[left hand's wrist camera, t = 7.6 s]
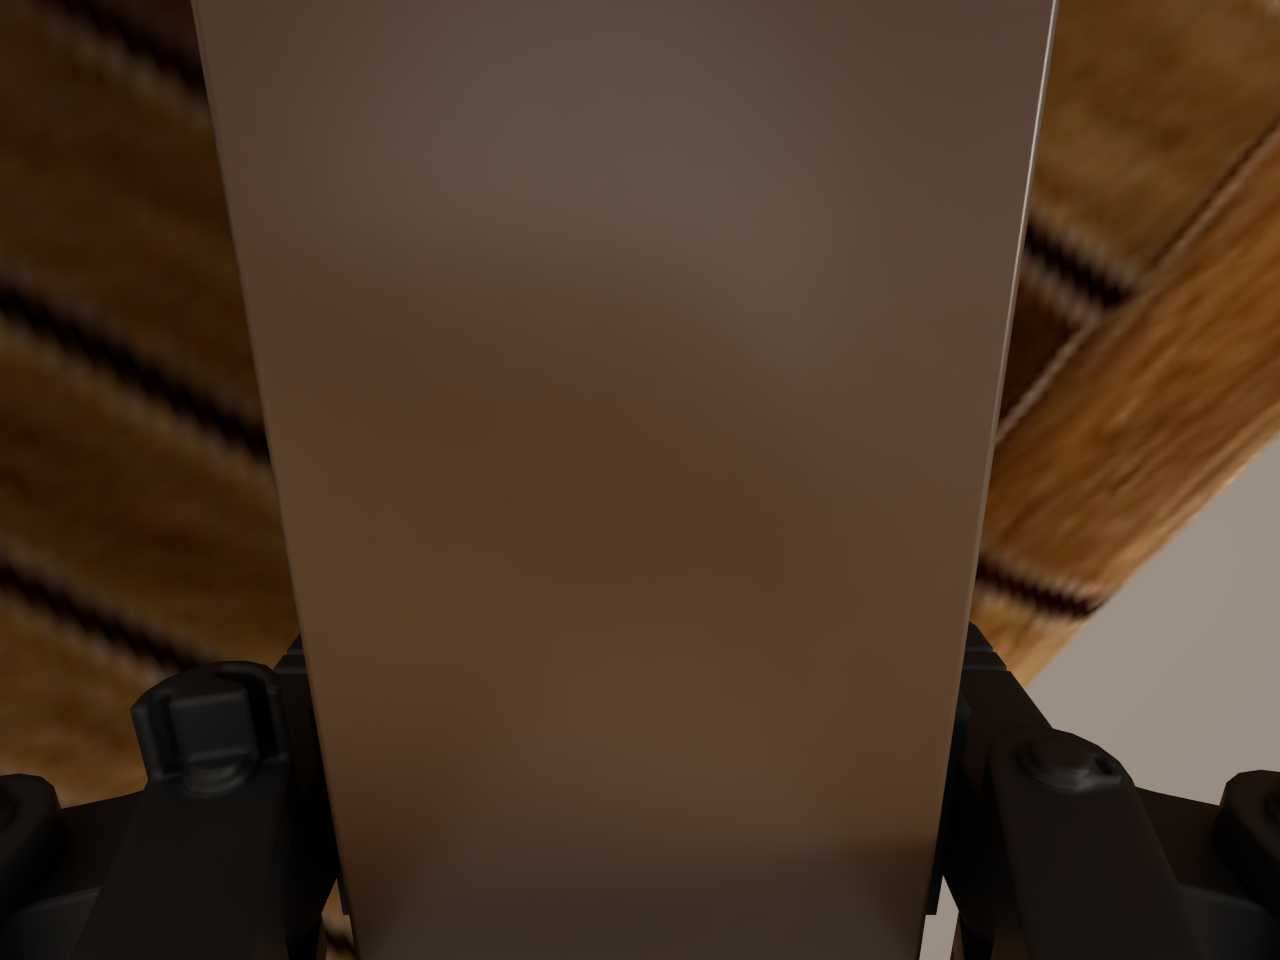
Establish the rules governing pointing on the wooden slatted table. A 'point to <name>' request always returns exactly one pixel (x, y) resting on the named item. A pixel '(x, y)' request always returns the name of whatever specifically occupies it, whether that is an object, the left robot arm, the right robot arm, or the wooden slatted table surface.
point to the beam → (631, 445)
